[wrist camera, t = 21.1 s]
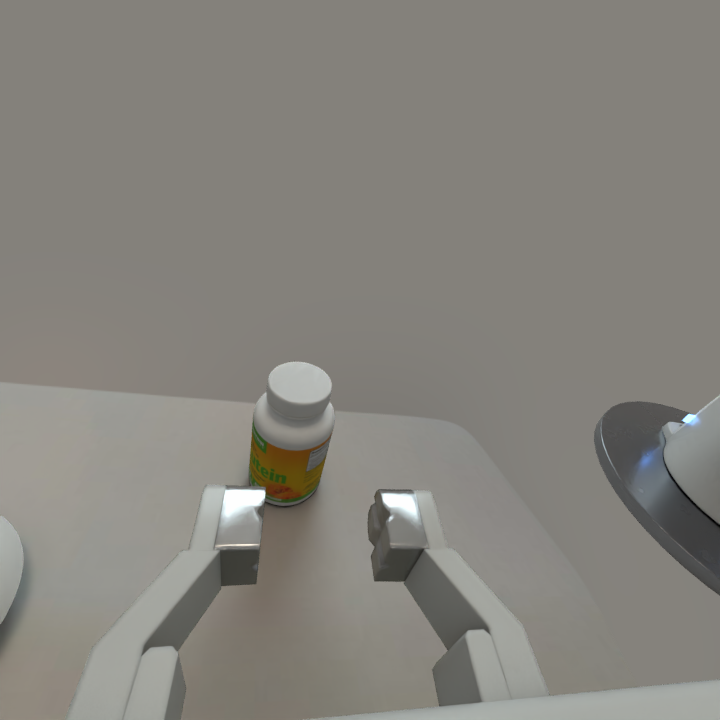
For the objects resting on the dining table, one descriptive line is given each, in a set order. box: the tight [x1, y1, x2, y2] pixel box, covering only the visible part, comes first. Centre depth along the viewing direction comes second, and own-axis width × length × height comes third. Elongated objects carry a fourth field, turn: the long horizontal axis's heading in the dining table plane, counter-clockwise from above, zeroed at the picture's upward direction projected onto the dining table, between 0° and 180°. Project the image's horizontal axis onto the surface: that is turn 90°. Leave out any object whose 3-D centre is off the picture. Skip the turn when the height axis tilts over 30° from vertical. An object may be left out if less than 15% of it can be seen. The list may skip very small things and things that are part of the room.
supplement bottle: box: [249, 362, 335, 506], centre depth 26 cm, size 5×5×10 cm
